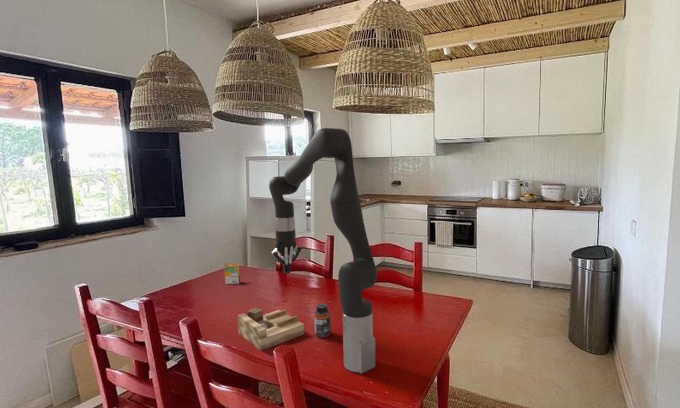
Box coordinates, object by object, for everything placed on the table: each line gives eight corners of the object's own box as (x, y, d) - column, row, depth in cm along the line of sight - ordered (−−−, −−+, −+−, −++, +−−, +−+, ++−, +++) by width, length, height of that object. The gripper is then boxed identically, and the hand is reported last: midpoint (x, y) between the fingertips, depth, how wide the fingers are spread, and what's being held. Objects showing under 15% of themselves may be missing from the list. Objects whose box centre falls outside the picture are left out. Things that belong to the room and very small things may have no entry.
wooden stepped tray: (304, 334, 137) (303, 316, 136) (260, 350, 125) (259, 331, 125) (279, 319, 150) (279, 302, 150) (238, 332, 139) (237, 315, 138)
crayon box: (240, 282, 201) (239, 261, 199) (239, 283, 198) (237, 263, 196) (226, 282, 200) (225, 262, 199) (225, 284, 197) (224, 263, 196)
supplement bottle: (322, 329, 140) (321, 301, 139) (334, 333, 136) (333, 304, 135) (311, 335, 136) (310, 306, 134) (323, 340, 132) (322, 309, 131)
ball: (265, 322, 133) (255, 333, 131) (273, 331, 136) (263, 342, 133) (259, 318, 137) (249, 329, 135) (267, 326, 140) (257, 337, 137)
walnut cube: (263, 319, 141) (262, 309, 140) (255, 323, 138) (254, 313, 137) (256, 317, 143) (255, 307, 143) (248, 321, 140) (247, 311, 140)
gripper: (274, 232, 132) (277, 279, 134) (305, 227, 140) (307, 271, 142) (264, 229, 138) (267, 274, 139) (294, 225, 146) (296, 267, 148)
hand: (287, 273), depth 141 cm, fingers closed
